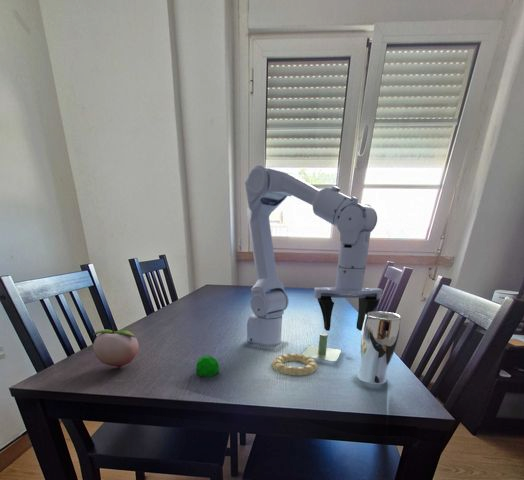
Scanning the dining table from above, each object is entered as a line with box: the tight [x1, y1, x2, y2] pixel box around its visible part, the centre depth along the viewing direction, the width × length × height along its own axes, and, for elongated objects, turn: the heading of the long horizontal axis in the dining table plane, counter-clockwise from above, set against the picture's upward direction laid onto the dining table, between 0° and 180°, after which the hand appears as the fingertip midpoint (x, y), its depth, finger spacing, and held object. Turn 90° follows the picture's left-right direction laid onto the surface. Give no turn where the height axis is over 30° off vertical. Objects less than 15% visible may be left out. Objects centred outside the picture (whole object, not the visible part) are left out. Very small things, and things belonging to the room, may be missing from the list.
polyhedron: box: [195, 355, 220, 378], centre depth 61 cm, size 5×5×5 cm
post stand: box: [301, 333, 343, 363], centre depth 73 cm, size 9×9×6 cm
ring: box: [271, 353, 319, 376], centre depth 66 cm, size 10×10×2 cm
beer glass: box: [357, 310, 402, 386], centre depth 58 cm, size 7×7×15 cm
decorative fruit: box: [92, 325, 140, 368], centre depth 63 cm, size 9×8×10 cm
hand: (343, 329), depth 64 cm, fingers open, 7 cm apart
